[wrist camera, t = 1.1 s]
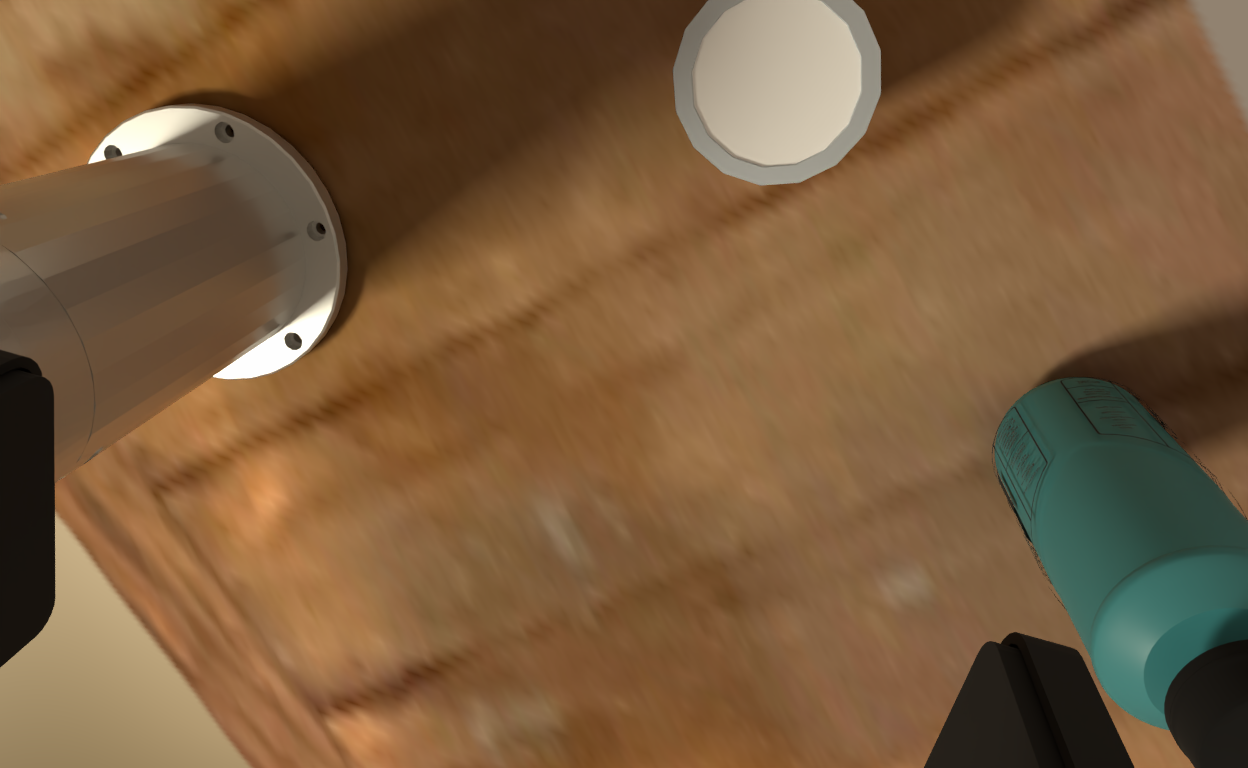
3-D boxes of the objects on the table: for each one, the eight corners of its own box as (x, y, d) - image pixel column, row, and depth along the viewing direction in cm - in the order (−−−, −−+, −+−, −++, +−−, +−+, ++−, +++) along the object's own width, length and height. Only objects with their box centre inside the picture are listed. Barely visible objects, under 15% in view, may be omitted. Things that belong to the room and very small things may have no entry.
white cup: (745, -62, 37) (738, -74, 30) (900, 29, 37) (926, 37, 31) (658, 102, 39) (635, 123, 33) (804, 186, 40) (809, 223, 33)
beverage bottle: (950, 436, 43) (1079, 769, 24) (1062, 325, 40) (1301, 602, 22) (1060, 520, 43) (1268, 904, 25) (1178, 416, 41) (1504, 758, 23)
